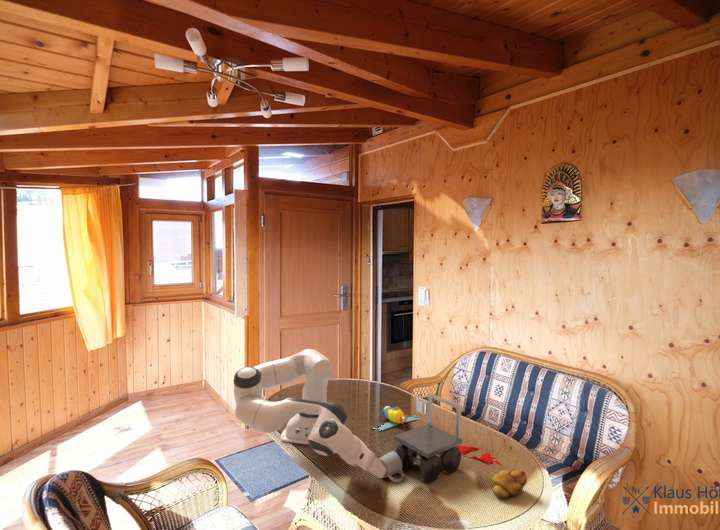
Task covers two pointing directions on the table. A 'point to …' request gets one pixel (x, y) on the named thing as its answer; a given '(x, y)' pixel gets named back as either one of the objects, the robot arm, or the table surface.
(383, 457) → the ceramic mug
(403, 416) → the owl figurine
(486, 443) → the table surface
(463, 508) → the table surface
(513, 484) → the bread roll
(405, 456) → the trolley
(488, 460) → the cloth
